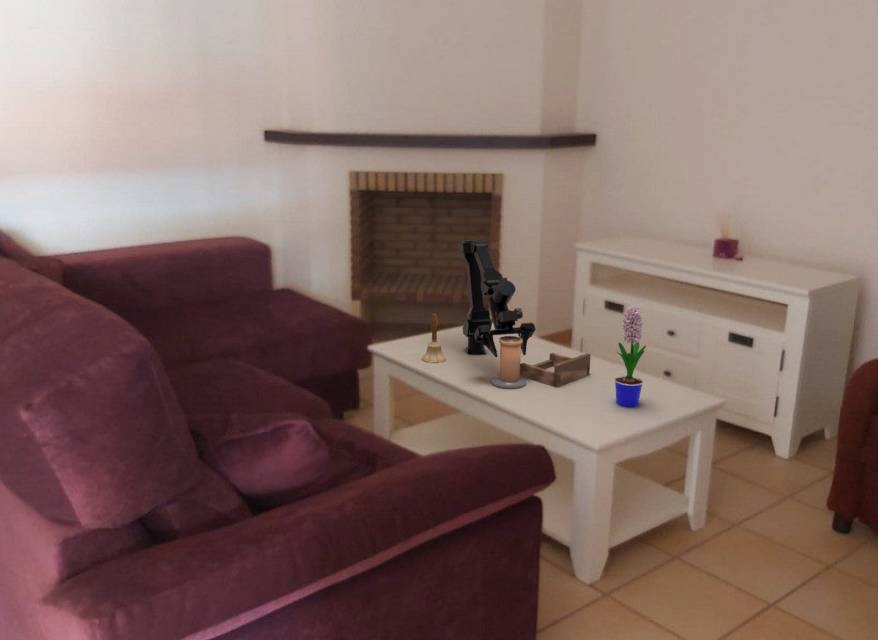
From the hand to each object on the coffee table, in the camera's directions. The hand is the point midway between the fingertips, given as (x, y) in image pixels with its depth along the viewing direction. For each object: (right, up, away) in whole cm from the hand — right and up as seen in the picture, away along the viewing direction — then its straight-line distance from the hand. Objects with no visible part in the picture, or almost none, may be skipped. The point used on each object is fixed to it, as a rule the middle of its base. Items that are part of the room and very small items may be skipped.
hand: (510, 355), depth 263 cm
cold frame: (+15, -7, +11) cm, 20 cm away
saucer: (0, -9, +3) cm, 9 cm away
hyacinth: (+34, -13, -11) cm, 38 cm away
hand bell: (-24, -2, +26) cm, 35 cm away
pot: (0, -7, +3) cm, 8 cm away
